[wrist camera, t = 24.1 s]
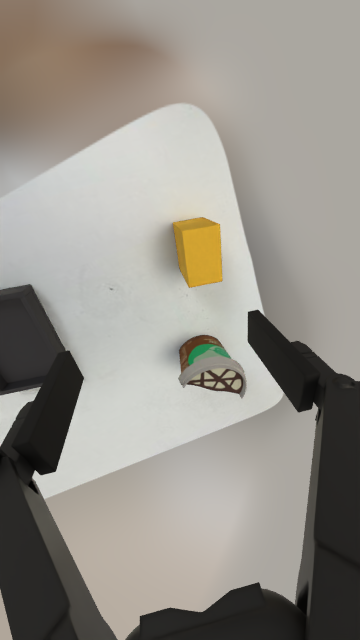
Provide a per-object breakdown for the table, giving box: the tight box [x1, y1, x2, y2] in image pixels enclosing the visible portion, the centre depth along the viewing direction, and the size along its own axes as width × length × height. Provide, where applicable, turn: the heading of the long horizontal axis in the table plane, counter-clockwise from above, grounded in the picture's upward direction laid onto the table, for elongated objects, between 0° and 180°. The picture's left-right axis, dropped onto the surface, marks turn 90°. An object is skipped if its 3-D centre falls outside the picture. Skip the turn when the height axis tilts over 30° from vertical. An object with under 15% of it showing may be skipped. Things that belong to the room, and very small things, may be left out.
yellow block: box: [173, 217, 222, 288], centre depth 30 cm, size 7×4×8 cm, turn 8°
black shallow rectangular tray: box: [0, 285, 65, 395], centre depth 36 cm, size 18×13×3 cm
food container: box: [178, 335, 246, 398], centre depth 40 cm, size 12×6×10 cm, turn 67°
